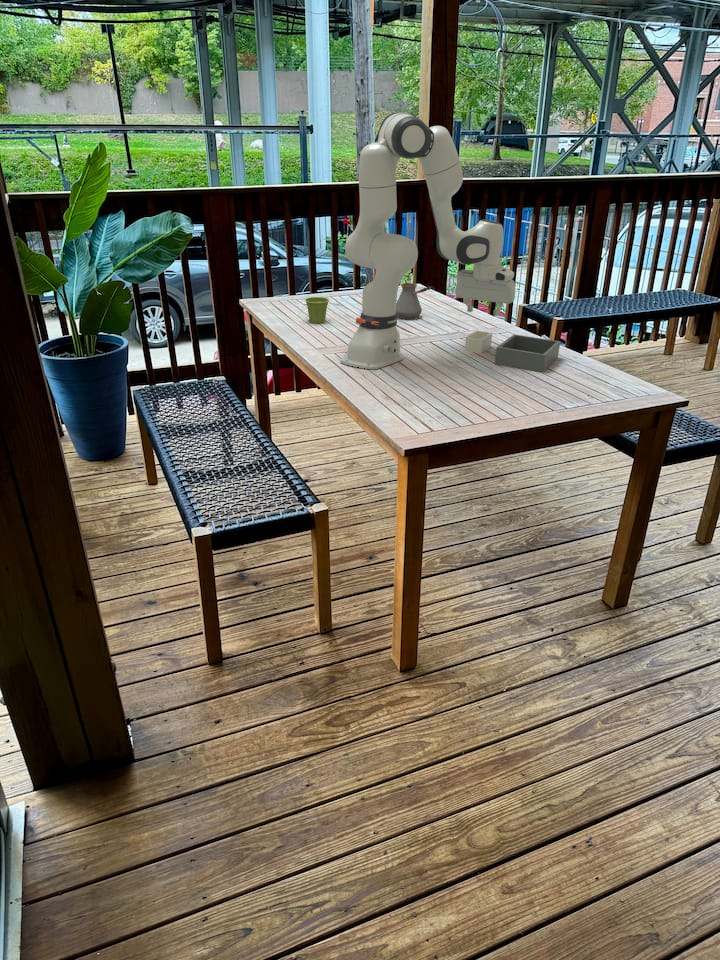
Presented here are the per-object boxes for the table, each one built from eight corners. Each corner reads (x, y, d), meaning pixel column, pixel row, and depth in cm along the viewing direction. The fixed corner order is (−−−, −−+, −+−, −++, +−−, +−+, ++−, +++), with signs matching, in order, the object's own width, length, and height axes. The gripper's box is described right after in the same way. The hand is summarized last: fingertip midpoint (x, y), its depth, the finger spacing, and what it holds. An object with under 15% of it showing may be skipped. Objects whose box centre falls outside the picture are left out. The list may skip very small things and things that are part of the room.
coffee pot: (388, 315, 268) (389, 278, 261) (411, 312, 273) (412, 275, 266) (418, 327, 252) (420, 288, 245) (441, 323, 257) (444, 285, 250)
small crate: (481, 353, 224) (482, 339, 221) (464, 351, 226) (465, 337, 224) (490, 346, 231) (492, 332, 229) (474, 344, 234) (476, 330, 231)
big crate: (542, 373, 206) (545, 355, 204) (494, 365, 213) (496, 347, 210) (557, 358, 220) (560, 341, 217) (511, 351, 227) (514, 334, 224)
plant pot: (333, 322, 256) (333, 300, 252) (313, 326, 252) (312, 303, 247) (321, 317, 263) (321, 295, 259) (301, 320, 258) (300, 298, 254)
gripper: (453, 270, 218) (451, 311, 225) (512, 276, 209) (508, 319, 216) (460, 267, 223) (458, 307, 230) (519, 273, 214) (514, 314, 221)
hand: (482, 313), depth 223 cm, fingers open, 8 cm apart
